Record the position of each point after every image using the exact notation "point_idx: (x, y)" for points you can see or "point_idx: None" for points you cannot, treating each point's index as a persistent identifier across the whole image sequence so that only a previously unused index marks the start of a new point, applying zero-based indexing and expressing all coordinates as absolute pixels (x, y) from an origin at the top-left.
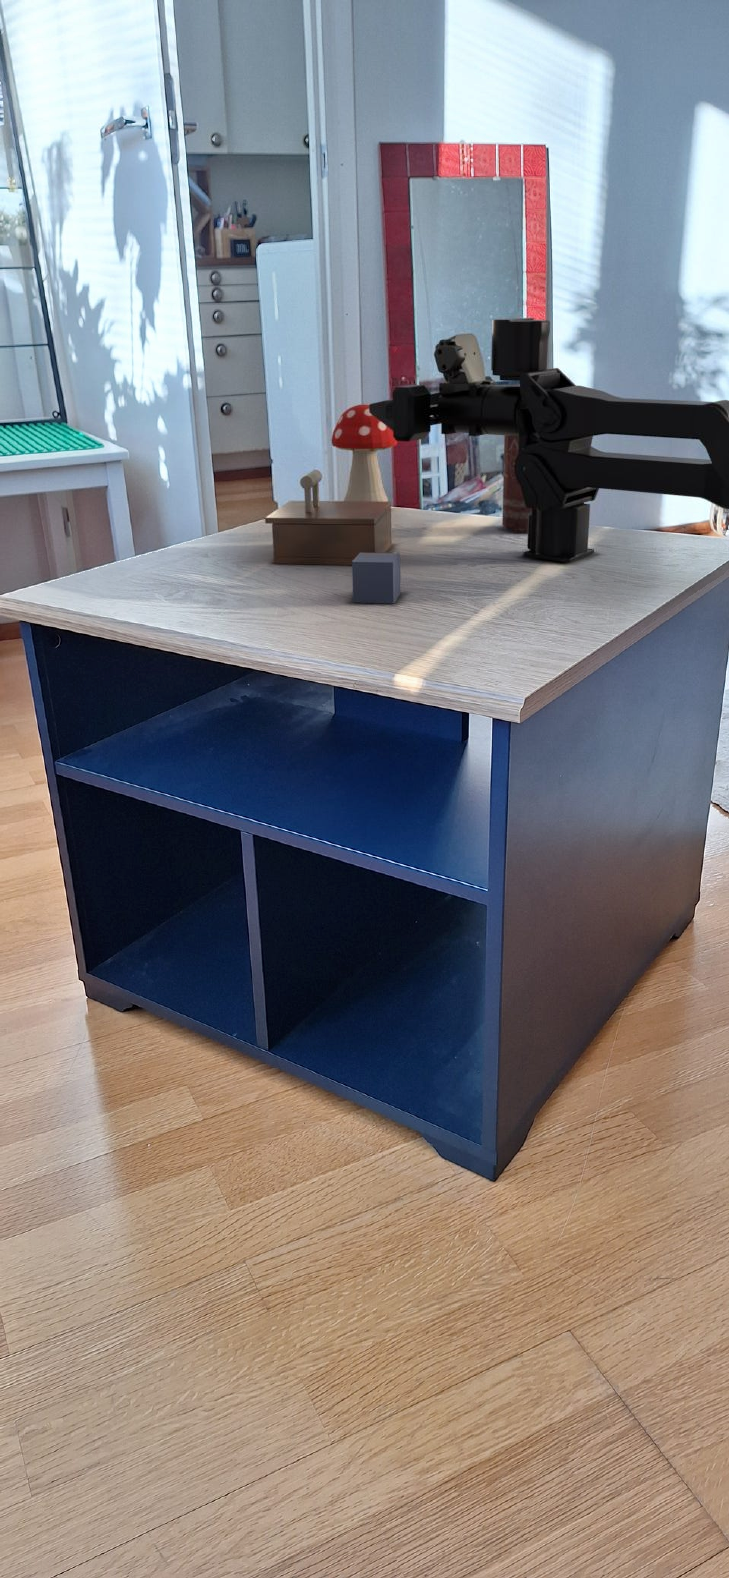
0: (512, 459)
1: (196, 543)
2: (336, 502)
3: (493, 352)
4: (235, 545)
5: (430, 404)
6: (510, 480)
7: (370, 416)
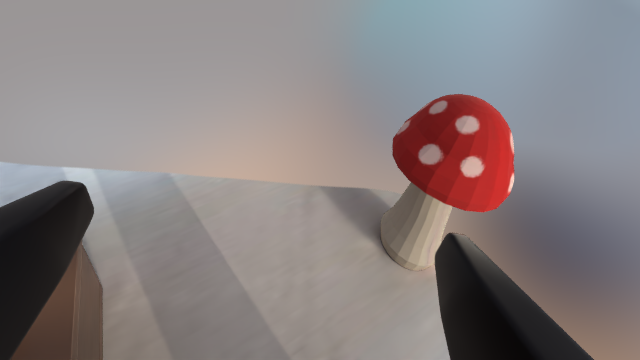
0: None
1: (94, 172)
2: (46, 330)
3: None
4: None
5: (482, 358)
6: None
7: (461, 134)
